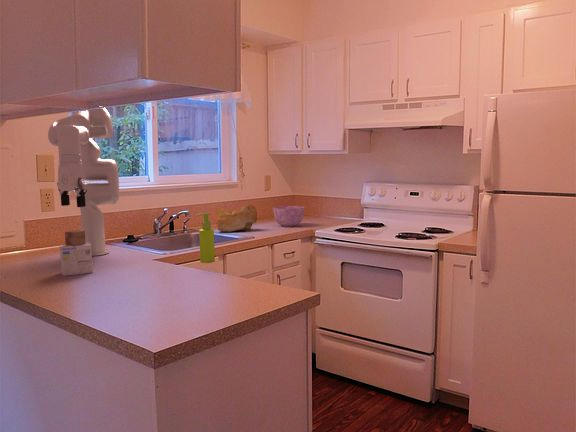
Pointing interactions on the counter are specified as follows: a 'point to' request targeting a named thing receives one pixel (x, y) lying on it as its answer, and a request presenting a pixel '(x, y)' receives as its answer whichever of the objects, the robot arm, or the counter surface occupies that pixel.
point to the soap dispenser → (206, 241)
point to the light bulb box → (76, 259)
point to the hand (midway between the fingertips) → (73, 206)
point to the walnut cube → (75, 238)
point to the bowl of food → (288, 215)
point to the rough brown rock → (236, 219)
